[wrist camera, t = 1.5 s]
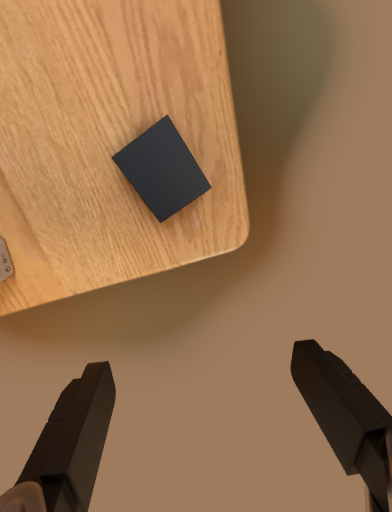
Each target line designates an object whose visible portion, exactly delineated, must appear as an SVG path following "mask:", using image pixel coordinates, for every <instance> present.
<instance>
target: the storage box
mask: <svg viewBox="0 0 392 512" xmlns="http://www.w3.org/2000/svg"><path fill="white" fill-rule="evenodd" d="M112 159H113V160H114V162H115V163H116V164H117V166H118V167H119V168H120V170H121V171H122V172H123V174H124V175H125V176H126V178H127V179H128V180H129V182H130V183H131V184H132V186H133V187H134V188H135V190H136V191H137V192H138V194H139V195H140V196H141V198H142V199H143V200H144V202H145V203H146V204H147V206H148V207H149V208H150V210H151V211H152V212H153V214H154V215H155V216H156V218H157V219H158V220H159V222H160V223H162V222H163V221H165V220H166V219H167V218H169V217H170V216H172V215H173V214H175V213H176V212H178V211H179V210H180V209H182V208H183V207H185V206H186V205H188V204H189V203H191V202H192V201H193V200H195V199H196V198H198V197H199V196H201V195H202V194H204V193H205V192H206V191H208V190H209V189H211V188H212V187H211V186H210V184H209V182H208V181H207V179H206V177H205V176H204V174H203V172H202V171H201V169H200V167H199V166H198V164H197V162H196V161H195V159H194V157H193V156H192V154H191V153H190V151H189V149H188V148H187V146H186V144H185V143H184V141H183V139H182V138H181V136H180V134H179V133H178V131H177V129H176V128H175V126H174V124H173V123H172V121H171V119H170V118H169V116H168V115H166V116H165V117H164V118H162V119H161V120H160V121H158V122H157V123H156V124H154V125H153V126H152V127H151V128H149V129H148V130H147V131H145V132H144V133H143V134H141V135H140V136H139V137H137V138H136V139H135V140H134V141H132V142H131V143H130V144H128V145H127V146H126V147H124V148H123V149H122V150H121V151H119V152H118V153H117V154H115V155H114V156H113V157H112Z"/></svg>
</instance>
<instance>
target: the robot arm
mask: <svg viewBox="0 0 392 512" xmlns="http://www.w3.org/2000/svg"><path fill="white" fill-rule="evenodd" d="M291 374H292V377H293V380H294V382H295V384H296V386H297V388H298V389H299V391H300V393H301V395H302V396H303V398H304V400H305V402H306V403H307V405H308V407H309V409H310V410H311V412H312V414H313V416H314V418H315V419H316V421H317V423H318V425H319V426H320V428H321V430H322V432H323V433H324V435H325V437H326V439H327V440H328V442H329V444H330V446H331V448H332V449H333V451H334V453H335V455H336V456H337V458H338V460H339V462H340V463H341V465H342V467H343V469H344V470H345V472H346V474H347V475H348V476H349V475H355V474H360V475H361V477H362V478H363V480H364V482H365V483H366V484H365V505H366V512H392V416H391V415H390V414H389V413H388V411H387V410H386V409H385V408H384V407H383V406H382V405H381V404H380V402H379V401H378V400H377V399H376V398H375V397H374V396H373V394H372V393H371V392H370V391H369V390H368V389H367V388H366V386H365V385H364V384H362V383H361V381H360V380H359V378H358V377H357V376H356V375H355V374H353V373H352V371H351V369H350V368H349V367H348V366H347V365H346V364H345V363H344V362H343V360H341V359H340V358H339V357H337V356H336V355H334V354H333V353H331V352H330V351H324V350H323V349H322V348H321V346H320V345H319V344H318V343H317V342H316V341H315V340H313V339H311V340H302V341H295V343H294V347H293V354H292V360H291ZM115 395H116V390H115V384H114V380H113V376H112V372H111V368H110V364H109V362H108V361H104V362H95V363H88V364H87V366H86V368H85V370H84V372H83V374H82V377H81V378H79V379H73V380H72V381H71V382H70V384H68V386H67V387H66V388H65V389H64V390H63V391H62V393H61V395H60V397H59V399H58V401H57V403H56V405H55V408H54V410H53V411H52V413H51V415H50V417H49V419H48V423H46V425H45V427H44V429H43V431H42V433H41V435H40V437H39V439H38V441H37V443H36V445H35V447H34V449H33V451H32V453H31V455H30V457H29V459H28V461H27V463H26V465H25V467H24V469H23V471H22V473H21V475H20V477H19V479H18V480H17V482H16V483H15V485H14V486H13V487H12V488H10V489H9V490H7V491H6V492H5V493H4V494H3V495H1V496H0V512H88V508H89V504H90V500H91V496H92V492H93V488H94V484H95V480H96V476H97V472H98V468H99V463H100V460H101V455H102V452H103V447H104V444H105V440H106V436H107V431H108V427H109V423H110V419H111V416H112V411H113V408H114V403H115Z"/></svg>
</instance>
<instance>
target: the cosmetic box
mask: <svg viewBox="0 0 392 512" xmlns="http://www.w3.org/2000/svg"><path fill="white" fill-rule="evenodd" d="M12 274H14V269H13V265H12V261H11V258H10V255H9V252H8V249H7V246H6V243H5V241H4V239H2V238H0V283H1V282H2V281H4V280H5V279H7V278H8V277H10V276H11V275H12Z"/></svg>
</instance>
